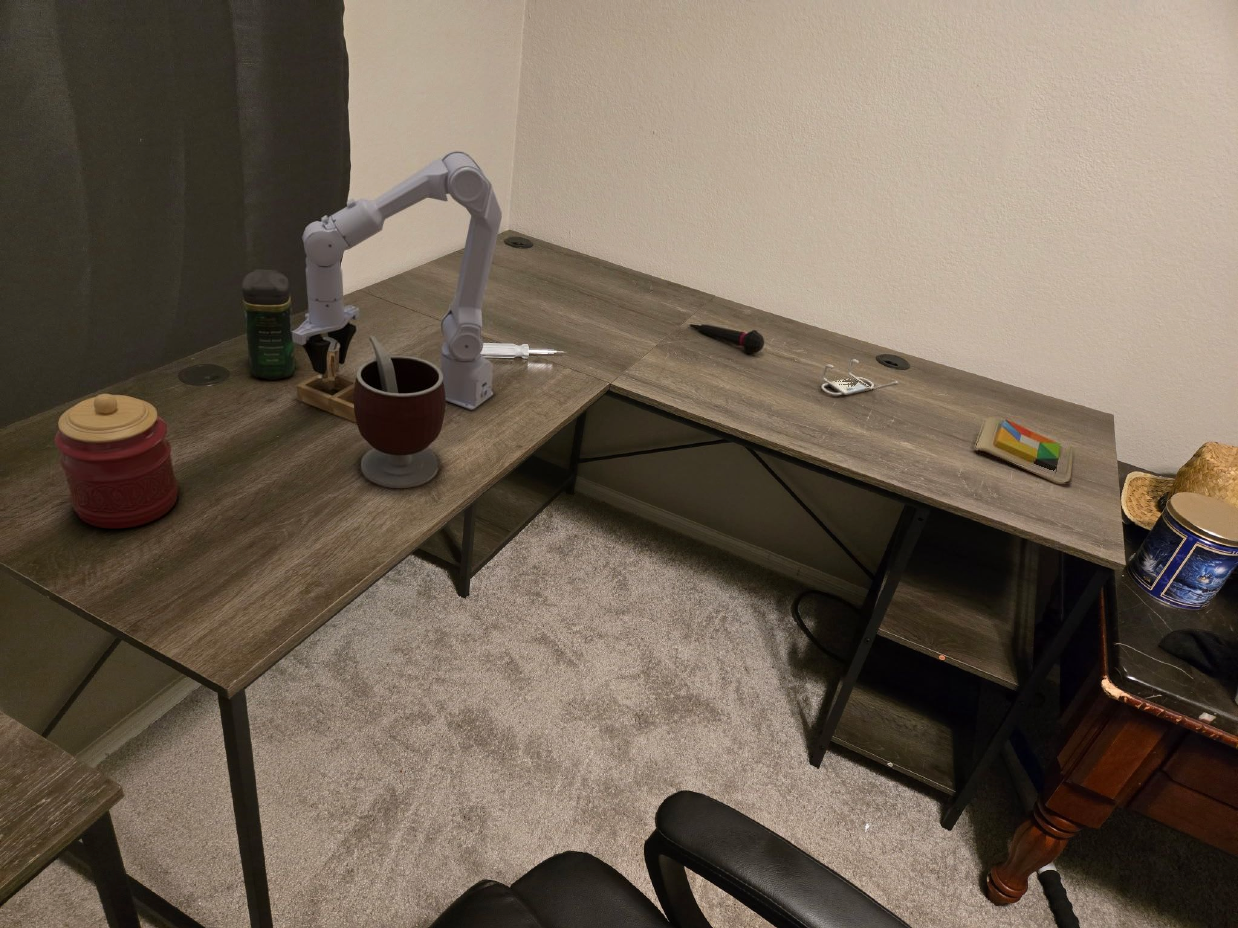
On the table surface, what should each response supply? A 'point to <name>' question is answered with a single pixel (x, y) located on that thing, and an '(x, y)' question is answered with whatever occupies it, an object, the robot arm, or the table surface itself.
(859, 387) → the wall mount rack
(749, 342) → the microphone
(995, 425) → the wooden puzzle
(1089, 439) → the table surface
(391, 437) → the mate gourd
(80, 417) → the kitchen canister
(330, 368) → the milkshake
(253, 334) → the coffee jar
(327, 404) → the rack
